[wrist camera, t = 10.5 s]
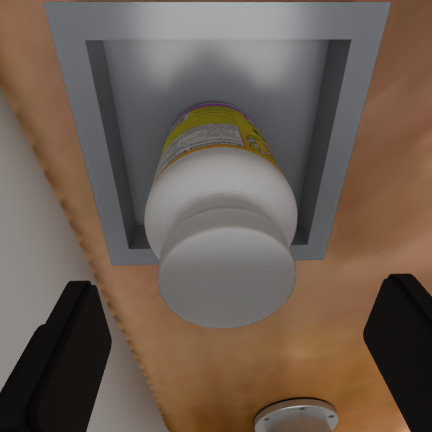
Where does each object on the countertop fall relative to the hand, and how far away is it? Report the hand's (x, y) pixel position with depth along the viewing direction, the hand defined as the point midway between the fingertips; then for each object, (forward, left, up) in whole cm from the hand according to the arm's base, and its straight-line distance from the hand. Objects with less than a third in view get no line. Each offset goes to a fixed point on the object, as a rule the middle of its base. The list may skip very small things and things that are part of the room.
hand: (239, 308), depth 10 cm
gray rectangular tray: (+1, 0, -14) cm, 14 cm away
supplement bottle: (0, 0, -14) cm, 13 cm away
